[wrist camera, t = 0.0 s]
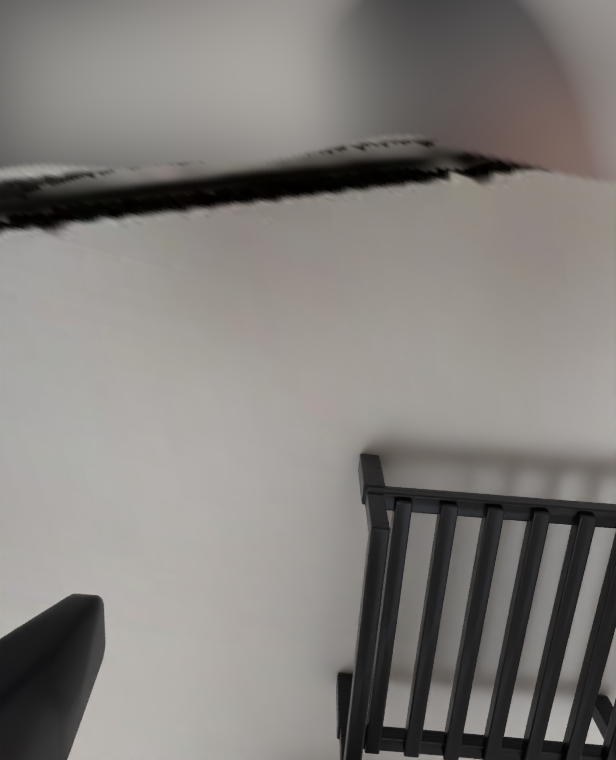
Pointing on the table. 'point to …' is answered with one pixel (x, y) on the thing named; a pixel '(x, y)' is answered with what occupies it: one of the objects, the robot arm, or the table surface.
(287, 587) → the table surface
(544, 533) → the rack
